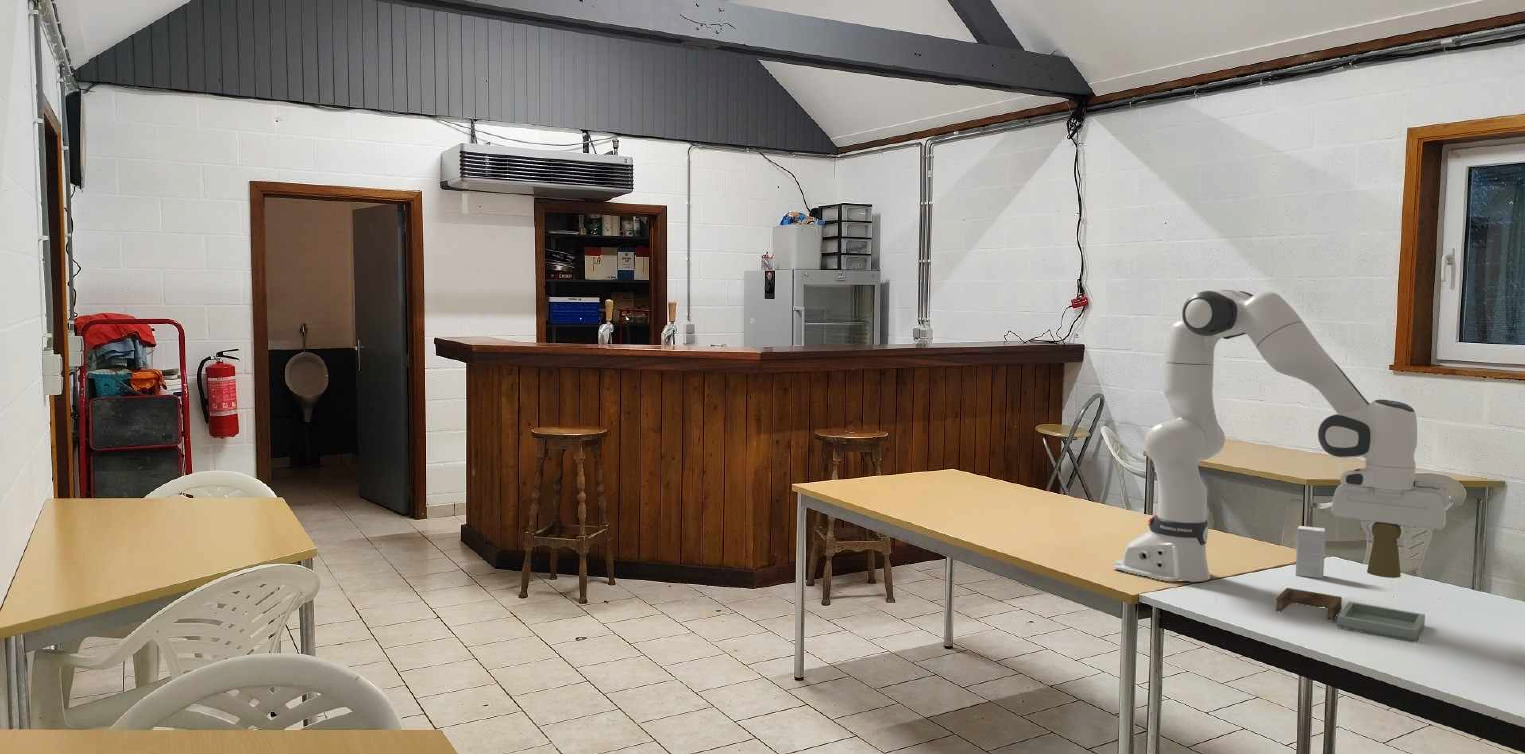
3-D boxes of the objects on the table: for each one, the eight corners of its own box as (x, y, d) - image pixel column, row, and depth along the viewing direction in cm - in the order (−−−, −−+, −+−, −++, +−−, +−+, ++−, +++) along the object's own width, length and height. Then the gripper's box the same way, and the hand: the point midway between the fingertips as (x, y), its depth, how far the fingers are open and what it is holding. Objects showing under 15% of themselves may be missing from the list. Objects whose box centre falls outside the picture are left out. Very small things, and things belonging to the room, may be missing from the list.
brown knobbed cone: (1373, 576, 208) (1376, 524, 208) (1362, 569, 214) (1365, 518, 214) (1405, 578, 207) (1408, 526, 206) (1394, 571, 213) (1397, 520, 212)
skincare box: (1323, 575, 252) (1326, 528, 251) (1322, 579, 249) (1325, 531, 248) (1296, 571, 255) (1298, 525, 255) (1294, 575, 252) (1297, 528, 251)
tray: (1337, 627, 210) (1337, 616, 210) (1348, 612, 221) (1349, 601, 221) (1416, 642, 202) (1417, 630, 202) (1424, 625, 213) (1425, 614, 212)
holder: (1275, 611, 221) (1276, 597, 221) (1286, 600, 230) (1287, 587, 229) (1332, 621, 215) (1333, 607, 214) (1341, 610, 223) (1341, 597, 222)
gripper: (1451, 482, 205) (1446, 549, 206) (1337, 471, 218) (1333, 534, 219) (1448, 486, 200) (1443, 555, 201) (1331, 474, 213) (1328, 539, 214)
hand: (1385, 544), depth 210 cm, fingers closed on brown knobbed cone, 4 cm apart
